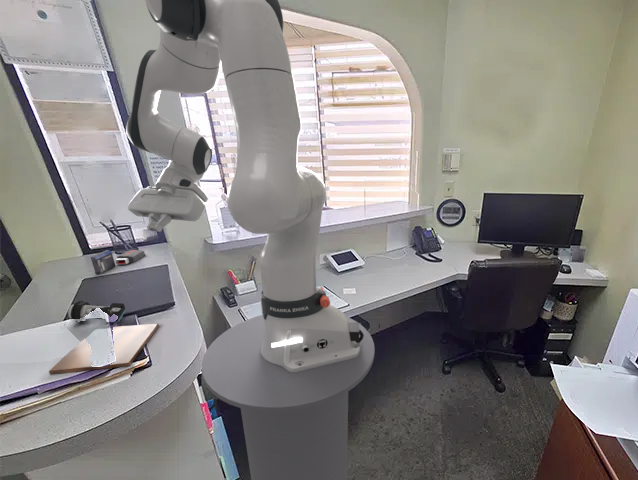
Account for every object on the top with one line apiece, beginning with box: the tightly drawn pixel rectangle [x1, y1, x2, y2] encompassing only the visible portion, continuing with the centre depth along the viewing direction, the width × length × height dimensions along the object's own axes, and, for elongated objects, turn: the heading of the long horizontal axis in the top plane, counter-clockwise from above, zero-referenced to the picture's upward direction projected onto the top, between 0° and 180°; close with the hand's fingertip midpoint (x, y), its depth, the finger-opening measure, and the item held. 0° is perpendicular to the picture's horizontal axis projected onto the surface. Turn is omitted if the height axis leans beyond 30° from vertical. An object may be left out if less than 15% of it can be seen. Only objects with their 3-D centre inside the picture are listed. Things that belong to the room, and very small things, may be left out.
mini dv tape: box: [90, 249, 116, 275], centre depth 107 cm, size 8×2×6 cm, turn 9°
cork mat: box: [48, 323, 160, 375], centre depth 67 cm, size 13×16×1 cm
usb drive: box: [114, 249, 146, 265], centre depth 119 cm, size 5×12×3 cm, turn 11°
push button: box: [67, 300, 127, 324], centre depth 76 cm, size 7×5×10 cm
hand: (153, 230), depth 81 cm, fingers closed
